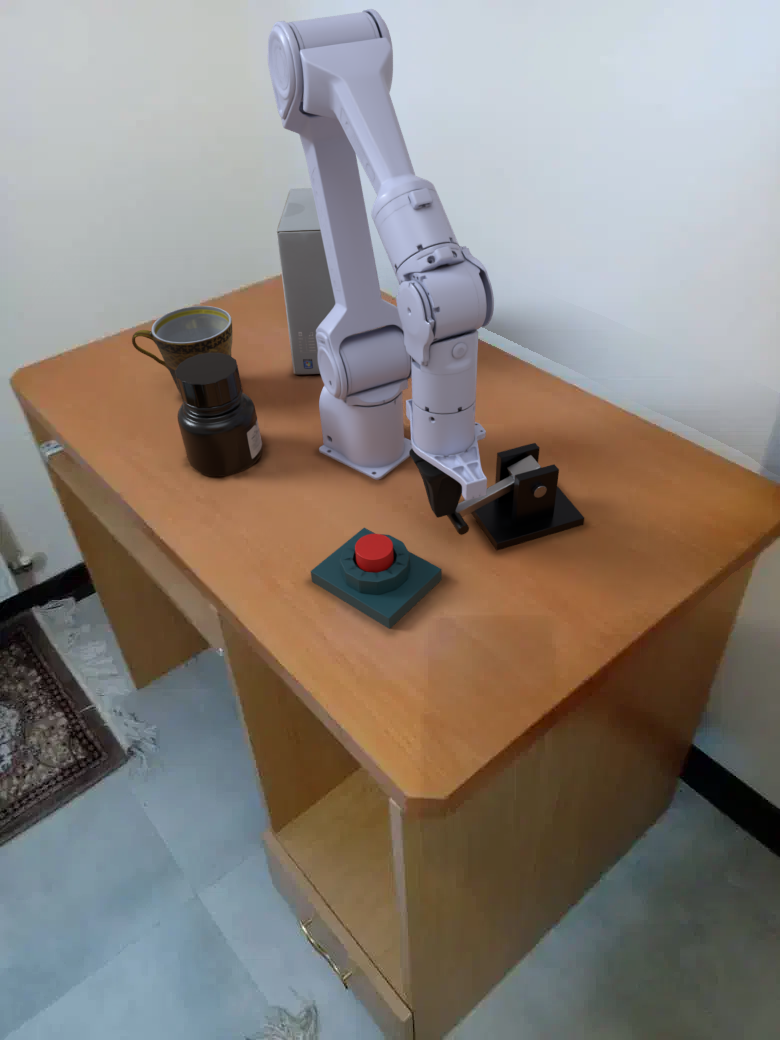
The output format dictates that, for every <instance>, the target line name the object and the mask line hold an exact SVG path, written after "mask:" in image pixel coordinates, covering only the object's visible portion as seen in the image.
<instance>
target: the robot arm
mask: <svg viewBox="0 0 780 1040" xmlns="http://www.w3.org/2000/svg"><path fill="white" fill-rule="evenodd" d="M388 27H389V26H388V25H387V24H386V21H385V20H384V19H383V18H382V16H381V14H380V13H379V12H378V11H377V10H376V9H373V8H367V9H363V10H362V11H360V12H352V13H347V14H346V13H345V14H337V15H329V16H323V17H316V18H309V19H301V20H293V21H288V22H287V21H285V20H278V21H276V22H274V24H273V26H272V27H271V31H270V32H269V34H268V41H267V65H268V71H269V75H270V80H271V86H272V90H273V94H274V99H275V104H276V108H277V113H278V115H279V117H280V120H281V124H282V127H283V129H285V130H288V131H289V132H290V131H291V132H293V133H296V134H298V136H299V138H300V142H301V145H302V148H303V149H302V150H303V153H304V156H305V162H306V166H307V171H308V175H309V181H310V187H311V188H312V191H313V196H314V201H315V205H316V210H317V215H318V220H319V225H320V230H321V235H322V240H323V244H324V249H325V254H326V259H327V264H328V269H329V274H330V279H331V283H332V288H333V293H334V298H335V306H334V307H333V309H332V310H331V311H330V312H329V314H328V315H327V316H326V317H325V319H324V320H323V321H322V322H321V323H320V325H319V326H318V328H317V329H316V340H317V347H318V366H319V370H320V374H319V375H320V377H321V380H322V382H323V387H322V389H321V392H320V394H319V400H318V410H319V418H320V426H321V427H320V428H321V434H322V442H323V444H322V445H320V446H319V448H318V451H319V453H320V454H323V455H324V456H326V457H328V458H330V459H332V460H335V461H336V462H339V463H341V464H343V465H344V466H346V467H349V468H351V469H352V470H354V471H357V472H358V473H361V474H363V475H364V476H367V477H368V478H371V479H373V480H376V481H379V480H381V479H383V478H384V477H385V476H387V475H388V474H389V473H390V472H392V471H393V470H395V469H396V468H397V467H398V466H399V465H401V464H402V463H403V462H405V461H406V460H407V459H409V458H411V459H412V461H413V462H414V464H415V466H416V468H417V469H418V472H419V474H420V477H421V480H422V482H423V486H424V489H425V493H426V496H427V501H428V503H429V506H430V510H431V511H432V513H433V514H434V516H435V517H436V519H437V518H438V519H439V518H442V517H447V515H449V514H453V513H455V511H456V508H457V506H458V504H459V503H460V500H461V497H463V499H464V500H466V501H467V500H471V499H475V498H479V497H482V496H485V495H486V491H487V488H488V478H487V476H486V474H485V473H484V471H483V468H482V463H481V456H480V449H479V443H478V442H479V441H481V440H484V439H486V437H487V435H486V434H487V431H486V429H485V428H484V426H483V425H482V424H481V423H479V422H477V421H476V405H477V384H478V383H477V382H478V381H477V380H478V355H479V354H478V353H479V352H478V351H479V331H478V330H479V329H481V328H485V327H487V326H488V325H489V324H490V322H491V321H492V319H493V316H494V310H495V298H494V291H493V286H492V282H491V280H490V277H489V274H488V270H487V269H486V267H485V266H484V264H483V263H482V261H480V259H478V258H477V257H475V256H474V255H473V254H472V252H471V251H470V249H469V247H467V246H466V245H464V246H463V245H460V244H459V241H458V239H457V237H456V234H455V232H454V230H453V227H452V225H451V222H450V219H449V217H448V215H447V213H446V211H445V209H444V205H443V203H442V201H441V199H440V196H439V194H438V192H437V189H436V187H435V185H434V183H432V182H431V181H429V180H427V179H425V178H422V177H420V176H417V175H416V173H415V170H414V167H413V164H412V160H411V157H410V154H409V151H408V150H409V149H408V148H407V144H406V141H405V138H404V135H403V132H402V128H401V125H400V122H399V119H398V116H397V112H396V109H395V107H394V103H393V100H392V97H391V93H390V92H391V89H392V84H393V77H394V76H393V75H394V50H393V49H394V48H393V42H392V37H391V33H390V30H389V28H388ZM358 161H359V163H360V164H361V167H362V168H363V170H364V173H365V174H366V177H367V178H368V180H369V182H370V184H371V186H372V188H373V190H374V192H375V194H376V198H375V200H374V202H373V204H372V208H371V213H370V215H371V218H372V219H371V220H373V223H374V226H375V228H376V231H377V233H378V237H379V239H380V240H381V243H382V245H383V248H384V250H385V254H386V255H387V258H388V260H389V262H390V265H391V267H392V270H393V273H394V275H395V277H396V280H397V282H398V285H399V286H398V289H397V295H396V296H395V300H396V305H395V304H393V303H391V302H389V301H387V300H385V299H383V297H382V291H381V286H380V281H379V275H378V270H377V263H376V257H375V252H374V248H373V247H374V246H373V242H372V235H371V231H370V224H369V220H368V214H367V208H366V202H365V197H364V192H363V186H362V180H361V176H360V175H361V174H360V170H359V165H358ZM410 379H411V398H409V399H406V400H405V413H406V418H407V419H408V420H409V423H410V439H409V438H407V437H405V426H404V425H405V424H404V399H403V391H405V390H407V389H409V380H410Z"/></svg>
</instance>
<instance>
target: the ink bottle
mask: <svg viewBox="0 0 780 1040" xmlns="http://www.w3.org/2000/svg"><path fill="white" fill-rule="evenodd" d="M175 373H176V378H177V382H178V386H179V390H180V393H179V395H180V394H181V395H180V397H181V400H182V404H181V405H180V406H179V409H178V411H177V416H176V417H177V423H178V427H179V431H180V435H181V439H182V442H183V446H184V450H185V453H186V458H187V460H188V463H189V465H190V466H191V467H192V469H194V470H195V471H196V472H198V473H200V474H202V475H205V476H210V477H226V476H231V475H234V474H237V473H240V472H242V471H245V470H248V469H249V468H250V467H252V466H253V465H255V464H256V463H257V462H258V461H259V459H260V458H261V456H262V454H263V442H262V441H263V440H262V437H261V430H260V425H259V421H258V414H257V410H256V406H255V404H254V401H253V400H252V398H251V397H250V396H249V395H248V394H246V393H245V392H243V385H242V382H241V381H242V380H241V376H240V371H239V366H238V362H237V359H235V358H234V357H233V356H232V355H231V356H230V355H226V354H222V353H205V354H198V355H196V356H193V357H190V358H187V359H186V360H185V361H183V362H182V363H180V364H179V365H178V367H177V369H176V370H175Z"/></svg>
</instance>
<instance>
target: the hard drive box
mask: <svg viewBox="0 0 780 1040" xmlns="http://www.w3.org/2000/svg"><path fill="white" fill-rule="evenodd" d="M276 240H277V247H278V256H279V263H280V271H281V272H280V273H281V281H282V287H283V288H282V289H283V295H284V297H283V298H284V305H285V313H286V321H287V330H288V338H289V345H290V356H291V361H292V362H291V363H292V370H293V374H294V375H297V376H299V375H321V374H320V370H319V366H318V347H317V340H316V329H317V328H318V326H319V325H320V323H321V322H322V321H323V320H324V319H325V317H326V316H327V315H328V314H329V312H330V311H331V310H332V309H333V307H334V306H335V298H334V293H333V288H332V283H331V279H330V274H329V269H328V264H327V259H326V254H325V249H324V244H323V240H322V235H321V230H320V225H319V220H318V215H317V210H316V205H315V201H314V196H313V191H312V187H304V188H290V190H289V191H288V194H287V197H286V200H285V203H284V206H283V209H282V213H281V216H280V219H279V223H278V226H277V229H276Z"/></svg>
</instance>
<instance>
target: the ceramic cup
mask: <svg viewBox="0 0 780 1040" xmlns="http://www.w3.org/2000/svg"><path fill="white" fill-rule="evenodd" d="M138 337H142V338H143V337H144V338H146V339H149V340H151V341H152V342H154V344H155V346H156V347H157V349H158V351H159V353H160V355H161V358H162V359H160V358H159V356H157V355H155V354H153V353H151V352H150V351H148V350H146V349H144V348H143V347H141V346H139V345H138V344H137V342H136V338H138ZM131 343H132V344H131V345H132V347H133V348H135V349H136V350H137V351H138V352H140V353H142V354H143V355H145V356H147V357H149V358H151V359H153V361H155V362H156V363H158V364H160V365H161V366H163V367H164V368H166V369H167V370H168V371H169V374H170V375H171V377H172V379H173V382H174V384H175V386H176V388H177V390H178V393H179V396H181V394H180V390H179V386H178V382H177V378H176V373H175V370H176V369H177V367H178V365H179V364H180V363H182V362H183V361H185V360H186V359H187V358H190V357H193V356H196V355H198V354H205V353H222V354H226V355H230V356H231V357H232V347H233V319H232V316H231V315H230V313H229V312H228V311H226V310H225V309H222V308H220V307H215V306H210V305H193V306H187V307H181V308H177V309H174V310H172V311H169V312H167V313H165V314H163V315H162V316H160V317H159V318H157V319H156V320H155V322H153V324H152V326H151V330H149V329H139V330H137V331H135V332H134V333H133V334H132V336H131Z"/></svg>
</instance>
